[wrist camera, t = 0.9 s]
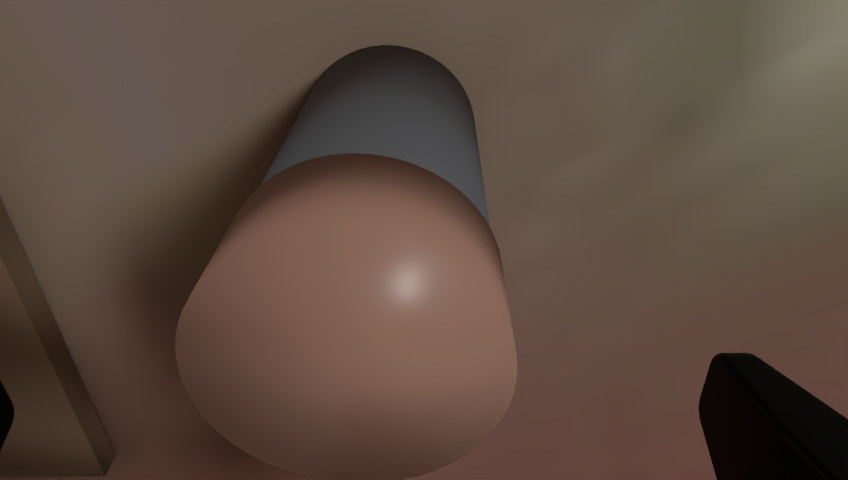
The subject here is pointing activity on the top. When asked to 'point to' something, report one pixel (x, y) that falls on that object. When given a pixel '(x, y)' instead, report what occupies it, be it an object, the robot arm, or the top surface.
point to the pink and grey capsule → (358, 286)
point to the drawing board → (42, 381)
